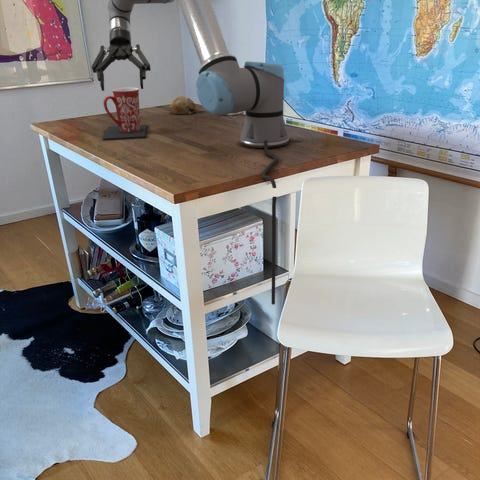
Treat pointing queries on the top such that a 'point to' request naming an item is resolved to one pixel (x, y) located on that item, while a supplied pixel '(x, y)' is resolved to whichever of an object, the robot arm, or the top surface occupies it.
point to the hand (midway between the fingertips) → (122, 87)
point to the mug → (126, 109)
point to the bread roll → (182, 106)
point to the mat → (123, 133)
